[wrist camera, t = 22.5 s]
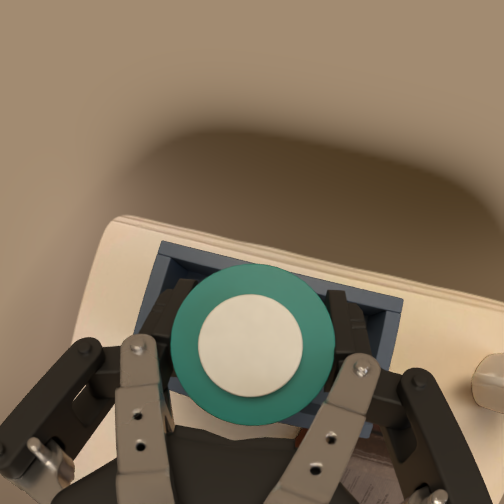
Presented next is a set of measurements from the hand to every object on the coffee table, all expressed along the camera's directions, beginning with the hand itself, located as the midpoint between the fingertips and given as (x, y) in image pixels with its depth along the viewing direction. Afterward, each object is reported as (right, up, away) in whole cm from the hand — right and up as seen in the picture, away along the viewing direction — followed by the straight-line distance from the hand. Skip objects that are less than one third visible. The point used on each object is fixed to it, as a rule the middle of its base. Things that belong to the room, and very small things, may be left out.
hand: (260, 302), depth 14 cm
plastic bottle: (0, -3, +5) cm, 5 cm away
